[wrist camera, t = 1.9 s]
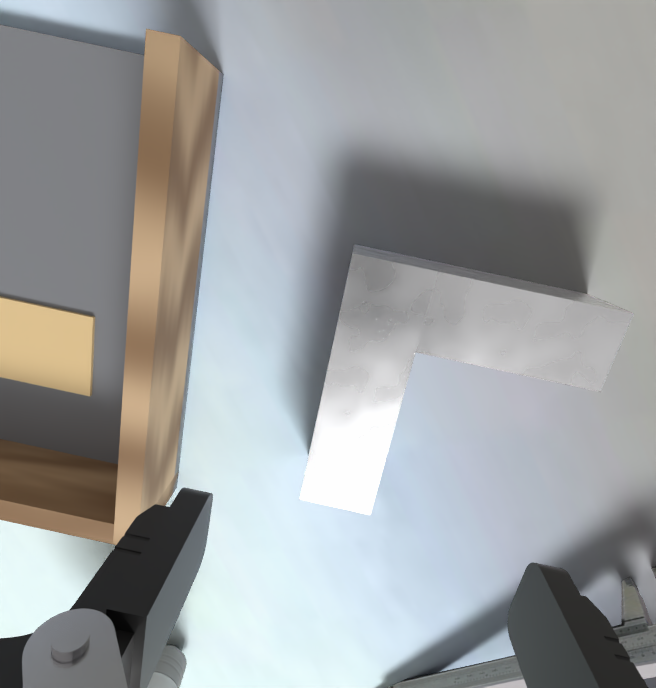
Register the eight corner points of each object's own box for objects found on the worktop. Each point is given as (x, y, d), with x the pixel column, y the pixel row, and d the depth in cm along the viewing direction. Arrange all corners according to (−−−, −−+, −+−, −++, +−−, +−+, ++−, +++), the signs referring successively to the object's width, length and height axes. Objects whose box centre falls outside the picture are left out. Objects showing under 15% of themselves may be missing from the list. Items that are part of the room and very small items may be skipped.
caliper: (655, 559, 26) (741, 664, 20) (664, 571, 27) (751, 679, 21) (370, 691, 31) (371, 807, 25) (379, 701, 31) (383, 818, 26)
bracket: (354, 243, 22) (352, 253, 18) (586, 293, 22) (633, 313, 18) (308, 455, 26) (299, 499, 22) (507, 498, 26) (532, 550, 22)
